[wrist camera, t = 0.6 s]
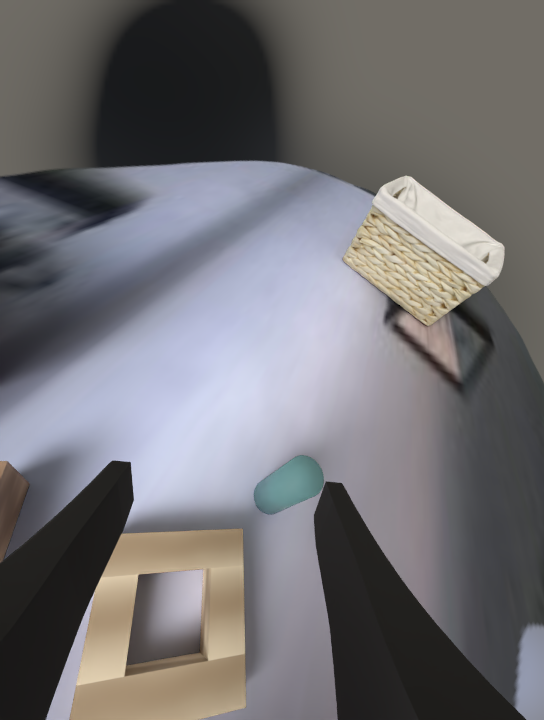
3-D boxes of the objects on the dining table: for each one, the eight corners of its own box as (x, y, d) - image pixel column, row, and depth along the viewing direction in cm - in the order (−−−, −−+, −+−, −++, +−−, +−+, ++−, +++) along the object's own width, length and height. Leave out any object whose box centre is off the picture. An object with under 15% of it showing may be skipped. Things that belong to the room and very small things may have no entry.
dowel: (285, 513, 30) (326, 497, 24) (254, 514, 29) (289, 497, 23) (282, 479, 32) (320, 456, 26) (253, 479, 30) (285, 454, 24)
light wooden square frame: (233, 694, 22) (246, 707, 19) (70, 732, 18) (62, 753, 16) (232, 532, 27) (242, 528, 25) (108, 538, 24) (106, 534, 22)
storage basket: (332, 257, 60) (379, 184, 49) (362, 235, 71) (406, 171, 59) (429, 336, 58) (503, 277, 46) (445, 301, 68) (509, 247, 57)
